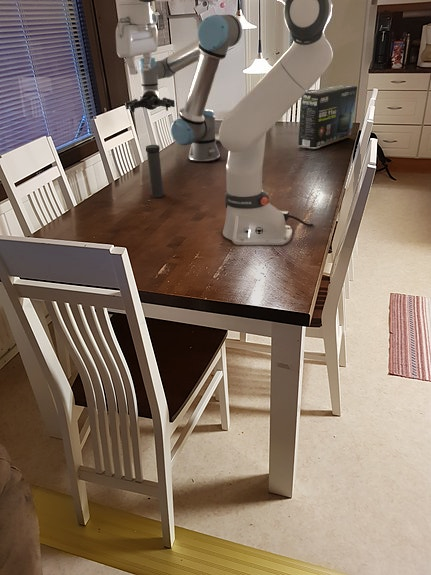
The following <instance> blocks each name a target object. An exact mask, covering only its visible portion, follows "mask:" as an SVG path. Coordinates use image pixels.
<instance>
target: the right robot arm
mask: <svg viewBox="0 0 431 575" xmlns="http://www.w3.org/2000/svg"><path fill="white" fill-rule="evenodd" d="M170 1H171V0H116V8H117V16H118V23H117V26H116V28H115V45H116V54H117V55H118V58H125V62H126V64H127V67H128V71H129V74H130V75H132V76H133V75H134V76H135V75H137V74H138V72H139V71H138V66H136V63H135V61H136V57H137V56H142V58H144V64H143V67H144V68H143V69H144V70H145V71H149V70H151V64H150V63H151V58H153V57H152V53H156V52H157V51H158V47H159V46H158V45H159V44H158V43H159V42H158V28H157V25H156V24H157V23H158V16H157V14H156V13H155V12H154V11H153V10H152V9H151V3H153V2H170ZM278 1H279V2H281V3H282V4H283V5H284V6H283V18H284V19H283V20H284V22H285V25H286V27H287V29H288V32H289V34H290V37H291V39H292V44H291V46H290V47H289V48H288V50H287V51H286V52H285V53H283V55H282V56H281V57H280V58H279V59H278V60H277V61H276V63H274V65H273V66H272V67H271V68H270V69H269V70H268V71H267V72H266V73H265V75H264V76H263V77H262V78H261V79H260V80H259V81H258V82H257V83H256V84H255V85H254V86H253V87H252V88H251V89H250V90H249V91H248V92H247V93H246V94H245V95H244V96H243V98H241V100H239V102H237V104H236V105H235V106H234V107H233V108H231V110H230V111H229V112H228V113H227V114H226V115H225V116H224V117H223V119H222V121H221V123H220V126H219V129H218V134H219V139H220V142H219V143H220V144H221V145H222V146H223V148H224V149H226V150H227V151H228V155H227V160H226V165H225V177H226V178H225V179H226V180H225V181H226V182H225V183H226V190H225V194H224V205H225V209H226V210H225V218H224V219H225V220H224V226H223V229H222V235H223V237H225V239H228V240H230V241H232V243H233V244H234V245H236V246H283V245H286V244H288V243H289V242H290V240H291V239H292V237H293V228H292V227H291V225H288V224H286V222H288V220H289V219H293V220H296V221H297V222H299V223H300V224H302V225H304V226H306V227H313V226H314V223H307V222H305V221H303V220H302V219H300V218H299V217H297V216H293V215H291V214H290V211H288V210H279V209H278V208H277V207H276V206H275V205H272V204H271V203H270V202H269V194H270V192H269V191H267V192H266V191H265V190H263V169H264V168H263V166H264V157H265V149H266V140H267V133H268V131H269V130H270V129H272V128H273V126H275V124H276V123H277V122H278V121H279V120H280V119H281V118H282V117H283V116H284V115H285V114H286V113H287V112H288V111H289V110H290V109H291V108H292V107H293V106H294V105H295V104H296V103H297V102H298V101H299V100H301V97H302V96H303V95H304V94H305V93H306V92H308V91H310V89H311V88H312V87H313V86H314V85H315V84H316V83H317V82H318V81H319V79H320V78H321V77H322V75H323V74H324V73H325V71H326V70H327V69H328V67H329V66H330V64H331V63H332V61H333V56H334V55H333V54H334V53H333V49H332V48H333V47H332V46H331V44H330V42H329V41H328V40H327V37H326V36H325V29H326V27H327V25H328V23H329V22H330V20H331V18H332V14H333V1H332V0H278Z"/></svg>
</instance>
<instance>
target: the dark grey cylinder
mask: <svg viewBox="0 0 431 575" xmlns="http://www.w3.org/2000/svg"><path fill="white" fill-rule="evenodd" d="M146 157H147V165H148V175H149V184H150V185H149V186H150V193H151V197H152V198H163V197H164V188H163V178H162V177H163V176H162V165H161V156H160V151H159V152H155V153H148V152H146Z"/></svg>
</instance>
